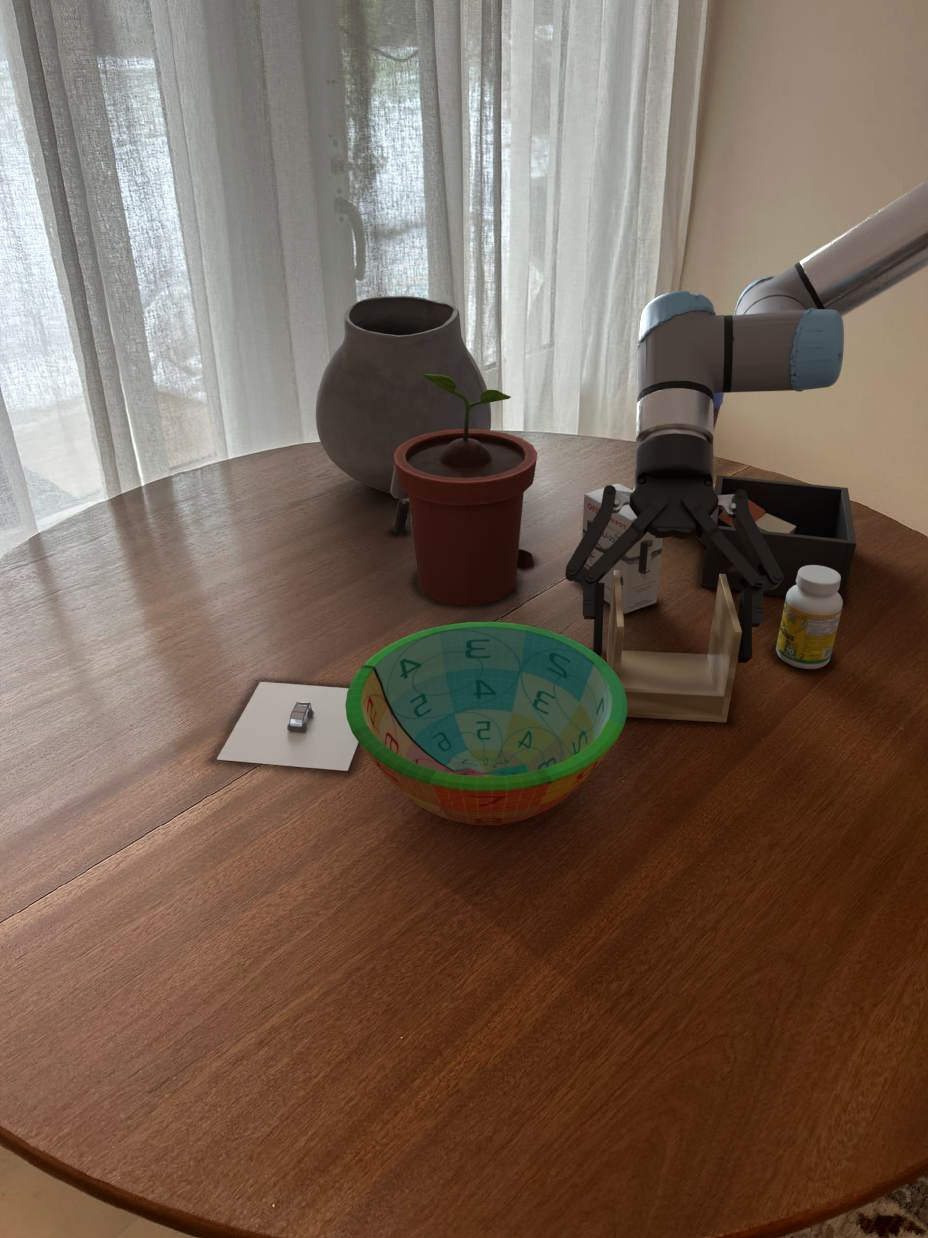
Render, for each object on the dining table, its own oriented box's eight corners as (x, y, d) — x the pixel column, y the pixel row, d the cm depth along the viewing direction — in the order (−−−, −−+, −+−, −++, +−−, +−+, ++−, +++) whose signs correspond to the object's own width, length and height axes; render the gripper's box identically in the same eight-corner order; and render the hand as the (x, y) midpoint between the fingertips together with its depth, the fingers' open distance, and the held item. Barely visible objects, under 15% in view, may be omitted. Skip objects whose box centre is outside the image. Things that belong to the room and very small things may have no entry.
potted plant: (381, 616, 103) (366, 396, 90) (394, 530, 122) (383, 337, 109) (540, 614, 103) (548, 395, 90) (529, 528, 122) (534, 335, 108)
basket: (835, 543, 117) (848, 487, 113) (842, 604, 104) (856, 543, 100) (709, 529, 121) (716, 474, 117) (700, 586, 108) (709, 527, 104)
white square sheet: (216, 759, 83) (213, 746, 82) (260, 681, 93) (258, 669, 92) (347, 771, 81) (346, 757, 80) (377, 690, 91) (376, 678, 90)
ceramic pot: (308, 518, 125) (287, 330, 112) (336, 451, 146) (321, 286, 132) (489, 519, 124) (490, 330, 111) (491, 452, 145) (492, 285, 132)
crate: (606, 654, 96) (613, 569, 91) (712, 659, 95) (725, 573, 90) (609, 716, 87) (617, 626, 82) (726, 722, 86) (742, 632, 81)
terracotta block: (716, 527, 117) (735, 503, 117) (742, 546, 115) (762, 521, 116) (717, 517, 113) (738, 492, 113) (744, 536, 112) (765, 510, 112)
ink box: (577, 583, 109) (582, 490, 103) (610, 572, 111) (617, 481, 105) (624, 615, 103) (633, 518, 97) (658, 603, 105) (669, 507, 99)
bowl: (657, 756, 82) (668, 663, 77) (545, 933, 66) (550, 830, 61) (443, 684, 92) (440, 596, 87) (299, 822, 76) (286, 725, 70)
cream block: (755, 540, 115) (766, 512, 113) (785, 553, 114) (796, 526, 111) (742, 551, 113) (752, 524, 110) (772, 566, 111) (783, 538, 108)
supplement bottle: (836, 670, 93) (857, 587, 88) (783, 671, 93) (800, 588, 88) (819, 641, 98) (838, 561, 93) (768, 641, 98) (784, 561, 93)
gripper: (794, 464, 94) (797, 670, 89) (547, 457, 96) (537, 657, 92) (814, 433, 87) (819, 655, 82) (547, 426, 89) (536, 641, 84)
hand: (670, 657), depth 87 cm, fingers open, 13 cm apart
